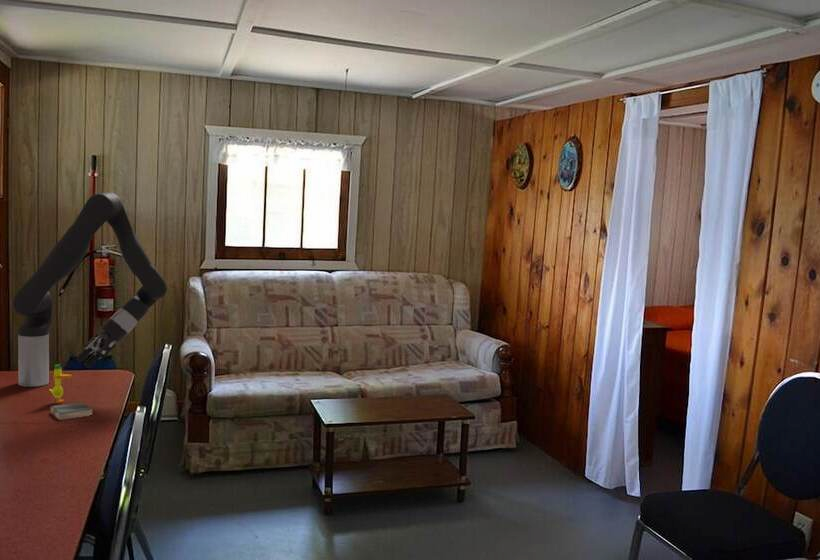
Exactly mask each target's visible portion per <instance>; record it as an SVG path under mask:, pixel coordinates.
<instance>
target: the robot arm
mask: <svg viewBox="0 0 820 560" xmlns="http://www.w3.org/2000/svg"><path fill="white" fill-rule="evenodd" d="M106 222H107V223H108V224H109V226H110V228H111V229H112V231H113V232H114V234H115V237H116V238H117V242H118V247H119V249H120V252H121V255H122V257H123V260H124V261H125V263H126V265H127V266H128V268H129V270H130V271H131V273H132V274H133V275H134V276H135V277H136V278H137V279H138V281H139V282H140V284H141V285H142V286H141V287H139V289H138V290H137V292H135V294H134V295H133V296H132V297H131V298H130V299H128V301H126V302H125V304H124V305H122V306H121V308H119V309H118V310H116V312H115V313H113V315H112V316H111V317H110V318H109V319H108V320H106V321H105V322H104V323H103V325H102V326H101V327H100V331H101V332H102V334H99V333H95V334H94V335H93V337H91V338H90V340H88V341H87V342H86V343H85V344H84V345H83V350H82V351H81V353H79V355H78V356H76V358H75V360H77V361H78V362H79V363H81V364H82V363H83V362H84V361H85V360H86V359H87V360H86V361H85V362H84V365H85V366H86V367H88V368H92V367H93V366H94V365H95V364H96V363H97V361H98V360H101V359H102V360H103V359H105V358H106V356H107V355H108V354H110V353H111V351H112V350H113V349H114V348H115V347H116V346H117V344H120V342H122V341H123V339H124V338H126V336H127V335H128V334H129V333H130V332H131V331H132V330H133V329H134V328H135V327H136V325H137V324H138V322H140V321H141V319H143V317H144V316H145V315H146V314H147V313H148V311H149V309H150V308H151V307H152V306H153V305H154V304H155V303H156V302H157V301H158V300H159V299H161V298H163V297H165V295H166V294H167V292H168V286H167V282H166V280H165V279H164V278H163V276H162V275H161V274H160V272H159V271H158V270H157V269H156V268H155V266H154V265H153V263H152V260H151V259H150V257H149V256H148V254H147V253H146V251H145V249H144V248H143V245H142V244H141V242H140V240H139V239H138V237H137V234H136V231H134V230H135V229H134V228H133V226H132V223H131V221H130V219H129V217H128V214H127V211H126V209H125V206H124V204H123V202H122V200H121V198H120V196H118V195H117V194H116V193H113V192H109V191H105V192H99V193H94V194H93V195H91V196H90V197H89V198H88V199H87V200H86V202H85V204H84V206H83V207H82V209H81V211H80V212H79V214H78V215H77V217H76V219H75V220H74V221H73V223H72V224H71V226H70V227H68V229H67V230H66V232H65V233H64V234H63V235H62V237H61V238H60V239H59V240H58V241H57V242H56V244H55V246H53V248H52V250H50V252H49V253H48V255H47V256H46V257H45V259H44V260H43V261H42V262H41V264H40V266H38V268H37V269H36V271H35V272H34V274H32V276H31V277H30V278H29V279H28V280H27V281H26V282H25V283H24V284H23V285H22V286H21V287H20V288H19V289H18V290H17V292H16V293H15V295H14V296H13V299H12V308H13V311H14V312H15V313H16V314H18V315H19V316H23V317H24V316H25V319H24V321H23V322H22V323H21V325H19V327H18V330H17V333H18V334H17V340H18V341H17V343H18V345H17V347H18V349H17V350H18V354H17V355H18V356H17V357H18V360H17V361H18V367H17V368H18V378H17V379H18V386H21V387H25V388H27V387H29V388H33V387H34V388H35V387H42V386H46V385H48V384H49V383H50V345H49V344H50V342H49V341H50V339H49V338H50V328H51V326H52V319H53V298H52V295H51V293H50V290H51V289H52V288H53V287H54V286H55V285H57V284H58V283H59V282H61V281H62V280H63V279H65V278H66V277H68V276H69V275H70V274H71V273H72V272H73V271H74V270H75V269H76V268H77V267H78V266H79V264H80V263H81V262H82V261H83V259H84V257H85V256H86V254H87V252H88V250H89V246H90V244H91V241H92V239H93V237H94V236H95V234H96V233H97V232H98V231H99V229H101V227H102V226H103V225H104V224H105V223H106ZM91 354H92V355H91ZM90 355H91V356H90ZM89 356H90V357H89ZM88 357H89V358H88Z"/></svg>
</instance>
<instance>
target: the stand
mask: <svg viewBox="0 0 820 560" xmlns="http://www.w3.org/2000/svg"><path fill="white" fill-rule="evenodd" d="M50 413H51V414H52V415H53V416H54V417H55V418H56V419H58V420H59V421H63V420H70V419H77V417H78V418H83V417H84V416H85V417H90V415H92V416H93V409H92V408H91V407H90V406H89V405H87V404H85V403H84V402H81V401H80V402H73V403H67V404H59V405H53V406H52V405H51V406H50ZM85 417H84V418H85Z"/></svg>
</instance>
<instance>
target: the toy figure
mask: <svg viewBox="0 0 820 560" xmlns="http://www.w3.org/2000/svg"><path fill="white" fill-rule="evenodd" d="M53 370H54V371H53V373H54V375H53V376H52V379H54V385H55V386H54V387H52V389H50V388H49V389H48V390H49V392H50V393H51V394H52V396H53V397H54V398H55V399H57V400H56V402H55V403H56V404H63V403H64V402H65V400H64V399H63V398H62V397H63V395H64V388H63V387H62V385H61V384H62V380H69V379H71V378H73V374H68V373H65V374H64V373H63V371H62V367H61V364H58V363H57V364H54V367H53ZM61 398H62V399H61Z"/></svg>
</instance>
